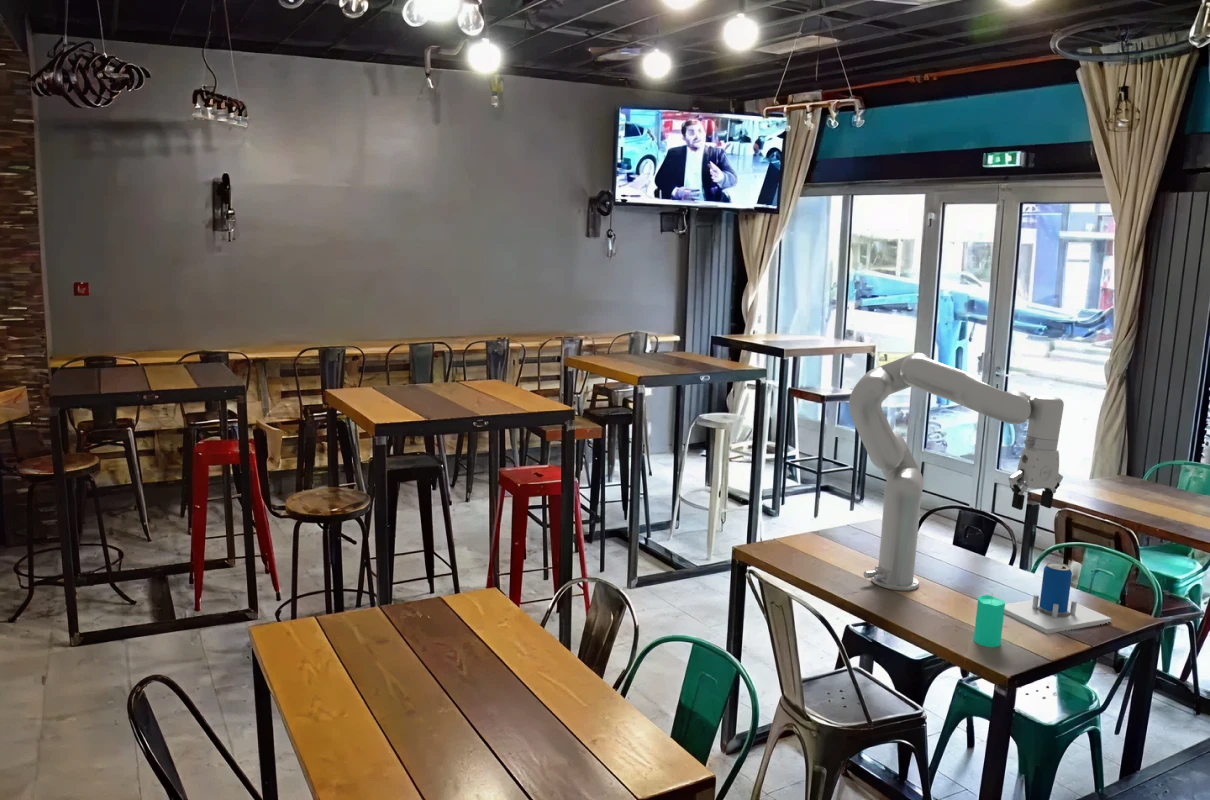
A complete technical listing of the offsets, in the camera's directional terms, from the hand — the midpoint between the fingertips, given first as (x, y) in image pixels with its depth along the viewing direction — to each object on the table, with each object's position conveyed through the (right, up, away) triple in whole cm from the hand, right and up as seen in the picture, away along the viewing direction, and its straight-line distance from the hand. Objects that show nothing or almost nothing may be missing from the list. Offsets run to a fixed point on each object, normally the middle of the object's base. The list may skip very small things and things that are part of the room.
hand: (1031, 507), depth 246 cm
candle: (-20, -30, -22) cm, 42 cm away
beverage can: (+4, -26, -4) cm, 27 cm away
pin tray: (+4, -27, -4) cm, 28 cm away
